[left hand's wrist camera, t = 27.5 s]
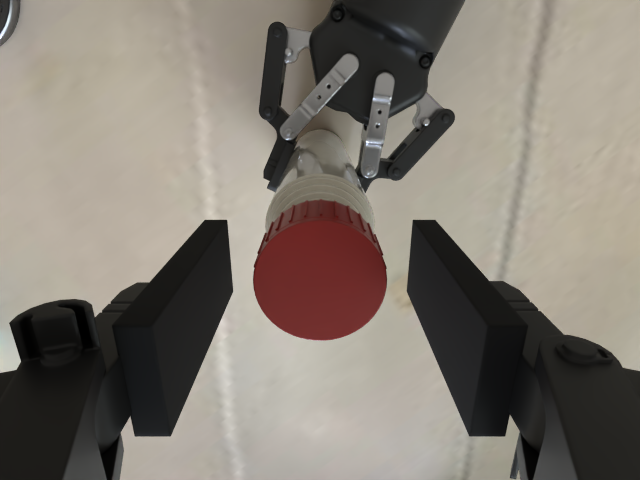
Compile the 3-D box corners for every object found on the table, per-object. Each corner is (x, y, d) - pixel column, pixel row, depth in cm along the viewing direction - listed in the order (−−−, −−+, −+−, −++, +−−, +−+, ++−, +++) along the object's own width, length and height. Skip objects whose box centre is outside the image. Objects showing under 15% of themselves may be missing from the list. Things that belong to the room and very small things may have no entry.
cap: (254, 295, 15) (243, 331, 13) (270, 187, 13) (261, 206, 11) (363, 314, 15) (371, 352, 13) (390, 209, 14) (404, 232, 12)
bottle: (285, 170, 36) (227, 305, 13) (305, 120, 34) (279, 178, 12) (333, 190, 36) (354, 353, 14) (355, 142, 35) (418, 237, 12)
